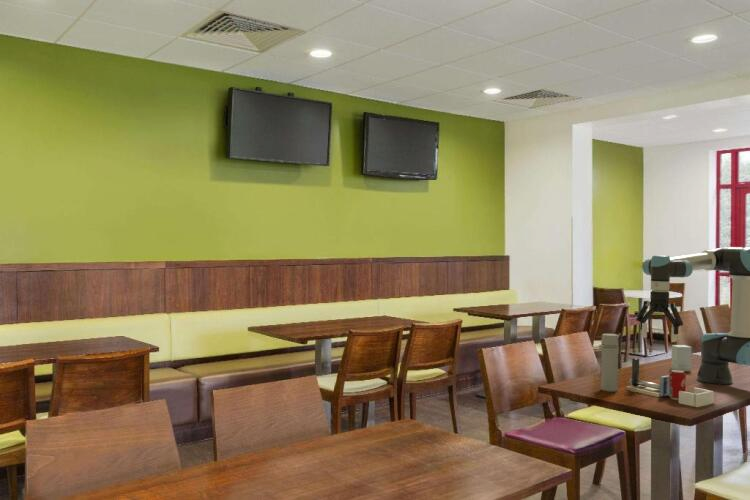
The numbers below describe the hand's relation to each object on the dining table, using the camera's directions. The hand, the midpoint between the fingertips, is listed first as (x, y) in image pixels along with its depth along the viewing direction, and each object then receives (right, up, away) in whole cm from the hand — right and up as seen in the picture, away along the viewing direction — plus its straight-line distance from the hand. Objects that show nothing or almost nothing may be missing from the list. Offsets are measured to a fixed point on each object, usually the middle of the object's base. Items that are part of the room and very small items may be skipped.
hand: (658, 339), depth 283 cm
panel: (-3, -24, +4) cm, 24 cm away
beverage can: (+5, -24, -7) cm, 26 cm away
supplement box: (+36, -24, +56) cm, 71 cm away
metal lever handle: (-3, -23, +4) cm, 24 cm away
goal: (+9, -24, -14) cm, 29 cm away
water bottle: (-20, -24, +8) cm, 32 cm away
